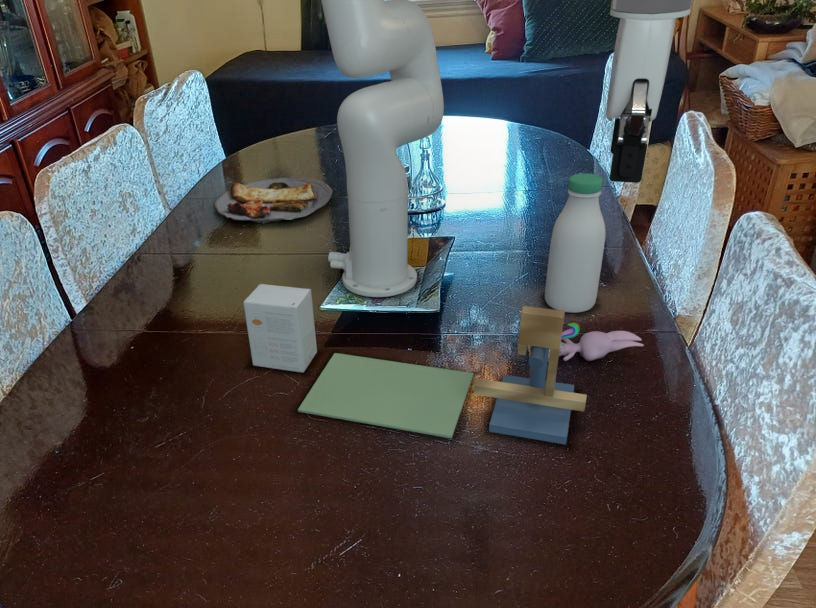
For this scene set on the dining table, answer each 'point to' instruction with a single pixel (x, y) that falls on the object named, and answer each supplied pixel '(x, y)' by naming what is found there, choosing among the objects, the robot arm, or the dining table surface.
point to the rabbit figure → (594, 343)
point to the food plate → (273, 199)
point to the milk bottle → (577, 248)
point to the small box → (281, 327)
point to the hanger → (547, 332)
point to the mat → (389, 394)
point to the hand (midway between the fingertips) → (624, 166)
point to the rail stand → (532, 407)
